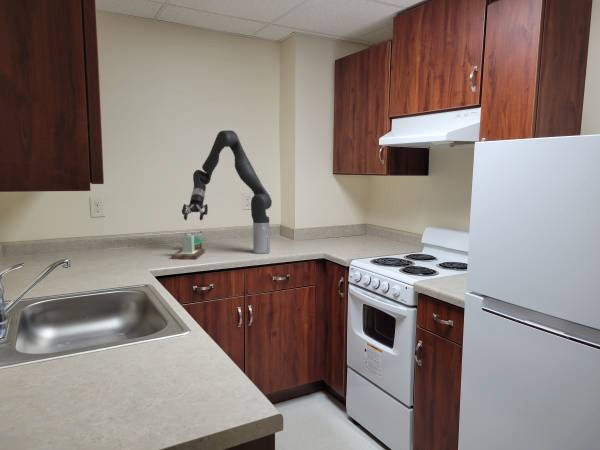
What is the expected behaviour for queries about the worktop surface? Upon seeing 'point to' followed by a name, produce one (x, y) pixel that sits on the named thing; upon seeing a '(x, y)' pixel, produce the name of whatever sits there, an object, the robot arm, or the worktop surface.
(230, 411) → the worktop surface
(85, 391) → the worktop surface
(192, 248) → the sage block
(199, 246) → the food container
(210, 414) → the worktop surface
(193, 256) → the base board
